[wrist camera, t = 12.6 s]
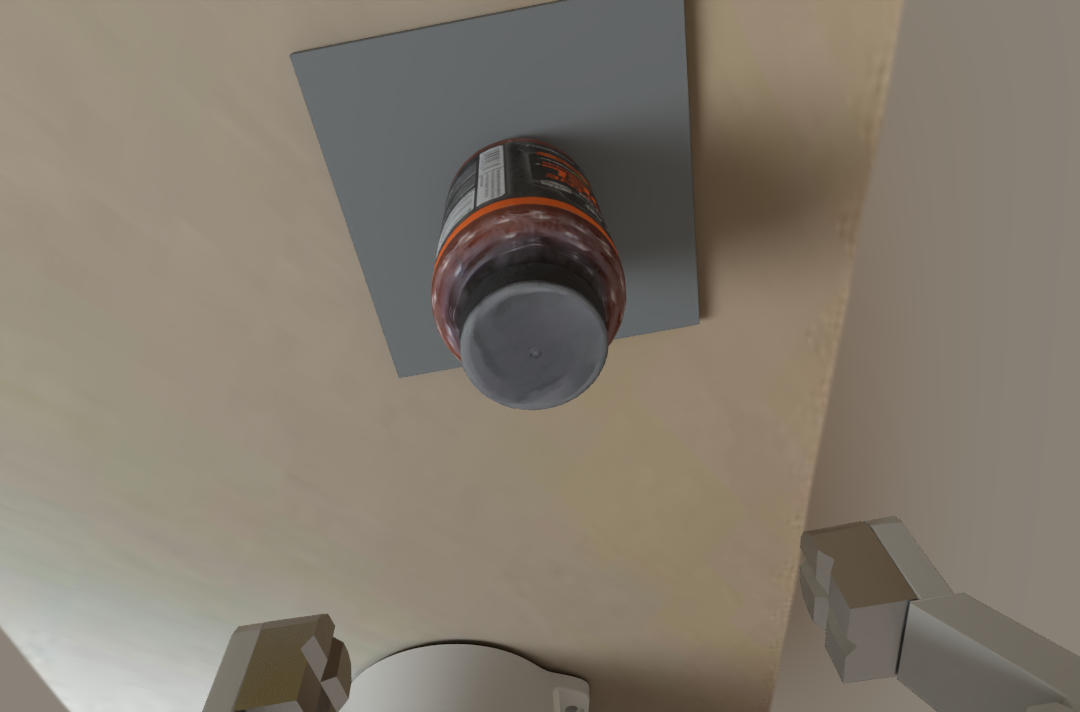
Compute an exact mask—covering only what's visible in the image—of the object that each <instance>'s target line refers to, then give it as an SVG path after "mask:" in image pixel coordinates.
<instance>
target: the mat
mask: <svg viewBox="0 0 1080 712" xmlns="http://www.w3.org/2000/svg"><path fill="white" fill-rule="evenodd" d="M290 58H291V61H292V64H293V67H294V70H295V73H296V76H297V79H298V82H299V85H300V88H301V91H302V94H303V97H304V100H305V102H306V105H307V108H308V111H309V114H310V117H311V120H312V123H313V126H314V129H315V132H316V135H317V138H318V141H319V144H320V147H321V150H322V153H323V156H324V158H325V161H326V164H327V167H328V170H329V173H330V176H331V179H332V182H333V185H334V188H335V191H336V194H337V197H338V200H339V203H340V206H341V209H342V212H343V215H344V217H345V220H346V223H347V226H348V229H349V232H350V235H351V238H352V241H353V244H354V247H355V250H356V253H357V256H358V259H359V262H360V265H361V268H362V271H363V273H364V276H365V279H366V282H367V285H368V288H369V291H370V294H371V297H372V300H373V303H374V306H375V309H376V312H377V315H378V318H379V321H380V324H381V327H382V329H383V332H384V335H385V338H386V341H387V344H388V347H389V350H390V353H391V356H392V359H393V362H394V365H395V368H396V371H397V374H398V377H399V378H402V377H408V376H413V375H419V374H425V373H430V372H436V371H441V370H447V369H452V368H458V367H463V364H462V362H461V361H459V360H458V359H457V358H456V357H455V356H454V354H453V353H452V352H451V351H450V350H449V348H448V347H447V345H446V344H445V343H444V341H443V339H442V338H441V335H440V333H439V331H438V329H437V326H436V324H435V320H434V317H433V311H432V303H431V290H432V280H433V274H434V267H435V260H436V256H437V250H438V245H439V237H440V233H441V227H442V221H443V216H444V210H445V203H446V199H447V196H448V192H449V189H450V186H451V183H452V181H453V179H454V177H455V175H456V174H457V172H458V170H459V169H460V168H461V166H462V165H463V164H464V163H465V161H466V160H467V159H468V158H469V157H471V156H472V155H473V154H474V153H475V152H477V151H478V150H480V149H482V148H484V147H486V146H488V145H490V144H492V143H495V142H498V141H501V140H505V139H511V138H526V139H534V140H539V141H542V142H545V143H548V144H550V145H552V146H554V147H556V148H558V149H560V150H561V151H563V152H564V153H566V154H567V155H568V156H570V157H571V158H572V159H573V160H574V161H575V163H576V164H577V165H578V166H579V167H580V169H581V170H582V172H583V173H584V175H585V177H586V178H587V180H588V181H589V183H590V186H591V188H592V190H593V193H594V195H595V197H596V200H597V203H598V205H599V207H600V211H601V213H602V215H603V219H604V221H605V224H606V225H607V227H608V230H609V232H610V235H611V237H612V240H613V242H614V244H615V247H616V250H617V253H618V256H619V259H620V261H621V264H622V267H623V271H624V276H625V283H626V307H625V312H624V316H623V319H622V323H621V325H620V327H619V329H618V332H617V334H616V336H615V338H614V339H619V338H625V337H631V336H636V335H642V334H647V333H653V332H658V331H664V330H670V329H675V328H681V327H686V326H692V325H697V324H699V304H698V283H697V263H696V243H695V222H694V202H693V181H692V161H691V140H690V120H689V100H688V79H687V59H686V38H685V18H684V0H559V1H554V2H549V3H544V4H538V5H533V6H528V7H523V8H518V9H513V10H508V11H503V12H498V13H493V14H487V15H482V16H477V17H472V18H467V19H462V20H457V21H452V22H447V23H442V24H436V25H431V26H426V27H421V28H416V29H411V30H406V31H401V32H396V33H391V34H385V35H380V36H375V37H370V38H365V39H360V40H355V41H350V42H345V43H340V44H334V45H329V46H324V47H319V48H314V49H309V50H304V51H299V52H294V53H292V54H290ZM614 339H613V340H614Z"/></svg>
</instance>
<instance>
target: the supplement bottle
mask: <svg viewBox="0 0 1080 712" xmlns="http://www.w3.org/2000/svg"><path fill="white" fill-rule="evenodd" d="M431 303H432V311H433V317H434V320H435V324H436V326H437V329H438V331H439V333H440V335H441V338H442V339H443V341H444V343H445V344H446V345H447V347H448V348H449V350H450V351H451V352H452V353H453V354H454V356H455V357H456V358H457V359H458V360H459V361H461V362H462V364H463V368H464V371H465V372H466V374H467V376H468V378H469V379H470V381H471V382H472V383H473V385H474V386H475V387H476V388H477V389H478V390H479V391H480V392H481V393H482V394H483V395H485V396H486V397H488V398H490V399H492V400H494V401H495V402H497V403H499V404H502V405H504V406H507V407H510V408H518V409H522V410H539V409H547V408H551V407H555V406H559V405H562V404H564V403H566V402H568V401H570V400H572V399H574V398H576V397H578V396H579V395H580V394H581V393H583V392H584V391H585V390H586V389H588V388H589V387H590V385H591V384H593V383H594V381H595V380H596V378H597V377H598V376H599V374H600V372H601V370H602V368H603V366H604V364H605V361H606V358H607V354H608V346H609V345H610V344H611V343H612V341H613V339H614V338H615V336H616V334H617V332H618V329H619V327H620V325H621V323H622V319H623V316H624V312H625V307H626V283H625V276H624V271H623V267H622V264H621V261H620V259H619V256H618V253H617V250H616V247H615V244H614V242H613V240H612V237H611V235H610V232H609V230H608V227H607V225H606V224H605V221H604V219H603V215H602V213H601V211H600V207H599V205H598V203H597V200H596V197H595V195H594V193H593V190H592V188H591V186H590V183H589V181H588V180H587V178H586V177H585V175H584V173H583V172H582V170H581V169H580V167H579V166H578V165H577V164H576V163H575V161H574V160H573V159H572V158H571V157H570V156H568V155H567V154H566V153H564V152H563V151H561V150H560V149H558V148H556V147H554V146H552V145H550V144H548V143H545V142H542V141H539V140H534V139H526V138H511V139H505V140H501V141H498V142H495V143H492V144H490V145H488V146H486V147H484V148H482V149H480V150H478V151H477V152H475V153H474V154H473V155H472V156H471V157H469V158H468V159H467V160H466V161H465V163H464V164H463V165H462V166H461V168H460V169H459V170H458V172H457V174H456V175H455V177H454V179H453V181H452V183H451V186H450V189H449V192H448V196H447V199H446V203H445V210H444V216H443V221H442V227H441V233H440V237H439V245H438V250H437V256H436V260H435V267H434V274H433V280H432V290H431Z"/></svg>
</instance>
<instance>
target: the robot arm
mask: <svg viewBox="0 0 1080 712" xmlns="http://www.w3.org/2000/svg"><path fill="white" fill-rule="evenodd" d="M800 548H801V550H802V552H803V554H804V556H805V558H806V560H805V561H804V562H803V563H802V564H801V565H800V585H801V589H802V595H803V598H804V601H805V604H806V606H807V609H808V612H809V614H810V616H811V618H812V620H813V622H814V623H815V624H816V625H818V626H819V627H821V628H822V629H824V630H825V631H826V638H825V647H826V649H827V651H828V654H829V656H830V658H831V660H832V662H833V664H834V666H835V668H836V670H837V672H838V674H839V676H840V678H841V680H842V682H843V683H849V682H857V681H864V680H872V679H879V678H887V677H894V676H897V679H898V680H899V681H900V682H901V683H903V684H904V685H905V686H906V687H907V688H909V689H910V690H911V691H912V692H914V693H915V694H916V695H917V696H919V697H920V698H921V699H922V700H924V701H925V702H926V703H927V704H928V705H930V706H931V707H932V708H933V709H935V710H936V711H937V712H1080V657H1079V656H1078V655H1076V654H1074V653H1072V652H1070V651H1068V650H1067V649H1065V648H1063V647H1061V646H1059V645H1057V644H1056V643H1054V642H1052V641H1050V640H1049V639H1047V638H1045V637H1043V636H1041V635H1039V634H1038V633H1036V632H1034V631H1032V630H1031V629H1029V628H1027V627H1025V626H1023V625H1021V624H1019V623H1018V622H1016V621H1014V620H1012V619H1011V618H1009V617H1007V616H1005V615H1003V614H1002V613H1000V612H998V611H996V610H994V609H992V608H991V607H989V606H987V605H985V604H984V603H982V602H980V601H978V600H976V599H974V598H973V597H971V596H969V595H967V594H965V593H958V594H954V593H953V591H952V590H951V588H950V587H949V586H948V584H947V583H946V582H945V580H944V579H943V577H942V576H941V575H940V573H939V572H938V571H937V569H936V568H935V567H934V565H933V564H932V562H931V561H930V560H929V558H928V557H927V556H926V554H925V553H924V551H923V550H922V549H921V547H920V546H919V545H918V544H917V542H916V540H915V539H914V538H913V536H912V535H911V534H910V532H909V531H908V530H907V528H906V527H905V526H904V524H903V523H902V521H901V520H900V519H898V518H897V517H895V516H891V517H885V518H879V519H873V520H867V521H863V522H861V521H859V522H854V523H848V524H842V525H837V526H832V527H826V528H821V529H815V530H810V531H804V532H803V534H802V536H801V543H800ZM334 629H335V625H334V623H333V622H332V620H331V618H330V616H329V615H328V614H319V615H312V616H305V617H298V618H291V619H284V620H277V621H270V622H264V623H258V624H251V625H245V626H239V627H238V628H237V629H236V630H235V632H234V633H233V634H232V635H231V637H230V640H229V643H228V645H227V648H226V650H225V653H224V656H223V658H222V661H221V664H220V666H219V669H218V671H217V674H216V677H215V679H214V682H213V685H212V687H211V690H210V692H209V695H208V698H207V700H206V703H205V705H204V708H203V711H202V712H588V711H589V702H590V693H589V685H588V683H587V682H586V681H584V680H582V679H580V678H576V677H572V676H568V675H563V674H558V673H552V672H549V671H546V670H544V669H542V668H540V667H538V666H537V665H535V664H533V663H531V662H530V661H528V660H526V659H524V658H522V657H520V656H517V655H515V654H512V653H510V652H507V651H503V650H500V649H495V648H491V647H485V646H478V645H467V644H445V645H433V646H426V647H420V648H415V649H411V650H407V651H404V652H401V653H398V654H395V655H392V656H390V657H387V658H385V659H383V660H381V661H379V662H377V663H375V664H374V665H372V666H371V667H369V668H368V669H366V670H365V671H364V672H362V673H361V674H360V675H359V676H358V677H357V678H356V679H355V680H354V681H353V683H352V684H351V662H350V658H349V654H348V651H347V649H346V647H345V644H344V643H343V642H342V641H340V640H338V639H336V638H334V637H333V633H334Z"/></svg>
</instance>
